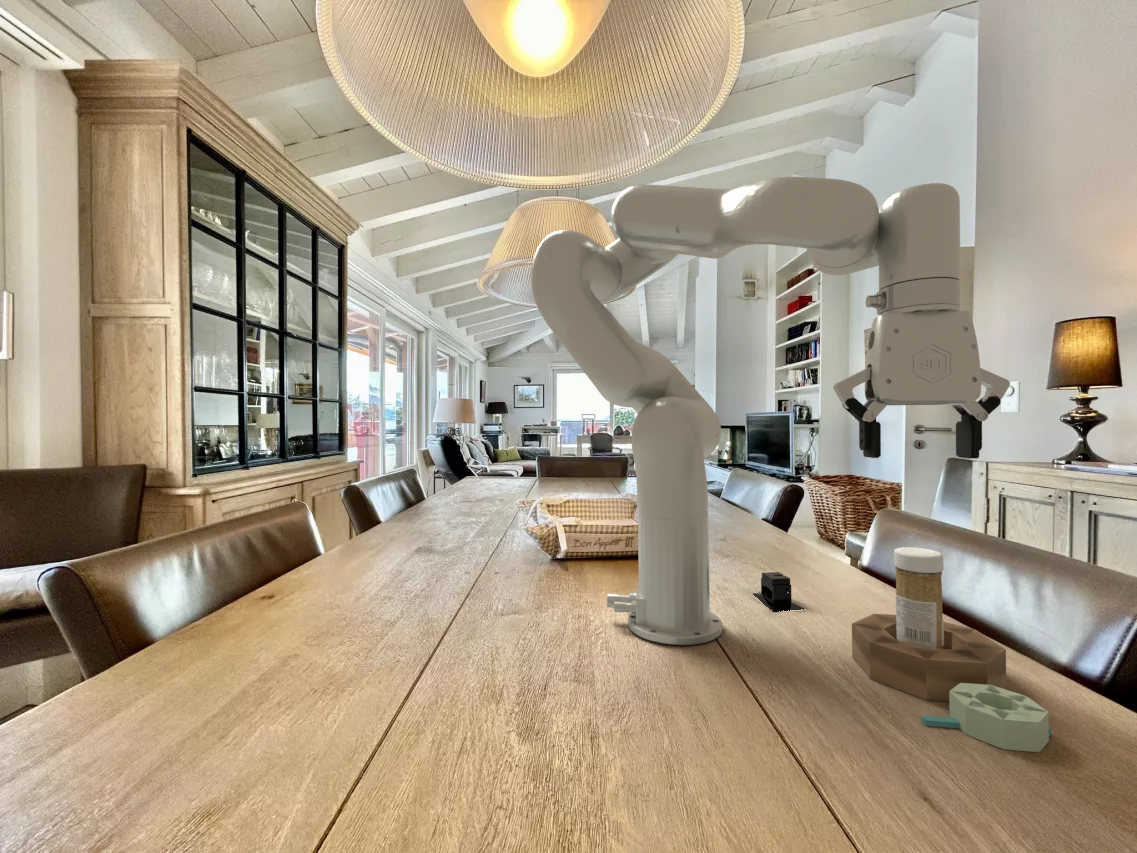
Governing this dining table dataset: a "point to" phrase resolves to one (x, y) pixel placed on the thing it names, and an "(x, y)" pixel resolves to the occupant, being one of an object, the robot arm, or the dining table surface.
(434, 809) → the dining table surface
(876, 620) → the brown octagonal holder
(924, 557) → the sprinkles bottle
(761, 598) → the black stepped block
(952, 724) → the teal bar
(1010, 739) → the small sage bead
